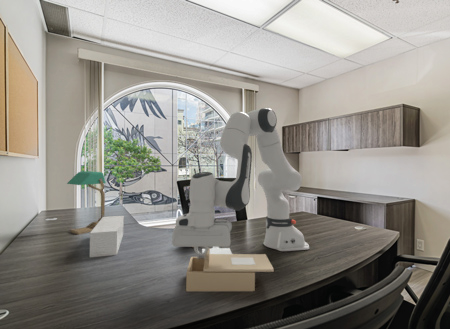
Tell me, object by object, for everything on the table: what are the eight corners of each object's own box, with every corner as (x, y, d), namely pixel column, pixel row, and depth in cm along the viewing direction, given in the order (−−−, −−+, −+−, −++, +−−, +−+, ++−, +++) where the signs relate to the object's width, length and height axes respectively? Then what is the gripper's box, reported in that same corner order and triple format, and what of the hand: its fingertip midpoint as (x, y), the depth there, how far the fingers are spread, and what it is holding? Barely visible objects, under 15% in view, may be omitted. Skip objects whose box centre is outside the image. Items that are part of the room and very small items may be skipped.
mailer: (249, 272, 90) (249, 257, 90) (254, 291, 77) (255, 272, 77) (190, 272, 89) (190, 256, 89) (186, 291, 76) (186, 272, 76)
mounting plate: (201, 250, 113) (201, 246, 113) (228, 250, 115) (228, 246, 115) (203, 267, 95) (203, 262, 95) (235, 266, 97) (235, 261, 97)
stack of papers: (116, 255, 105) (117, 231, 105) (89, 257, 102) (90, 232, 102) (123, 234, 136) (123, 215, 136) (102, 236, 133) (102, 216, 133)
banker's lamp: (114, 228, 148) (115, 171, 148) (78, 236, 130) (79, 172, 130) (99, 224, 156) (100, 171, 156) (64, 231, 139) (65, 171, 139)
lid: (265, 256, 90) (265, 247, 90) (273, 271, 77) (274, 261, 77) (205, 255, 89) (205, 247, 89) (203, 271, 76) (203, 261, 76)
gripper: (231, 217, 87) (230, 255, 87) (174, 216, 86) (173, 255, 86) (232, 221, 80) (231, 262, 80) (171, 220, 80) (170, 262, 80)
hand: (201, 258), depth 83 cm, fingers closed
